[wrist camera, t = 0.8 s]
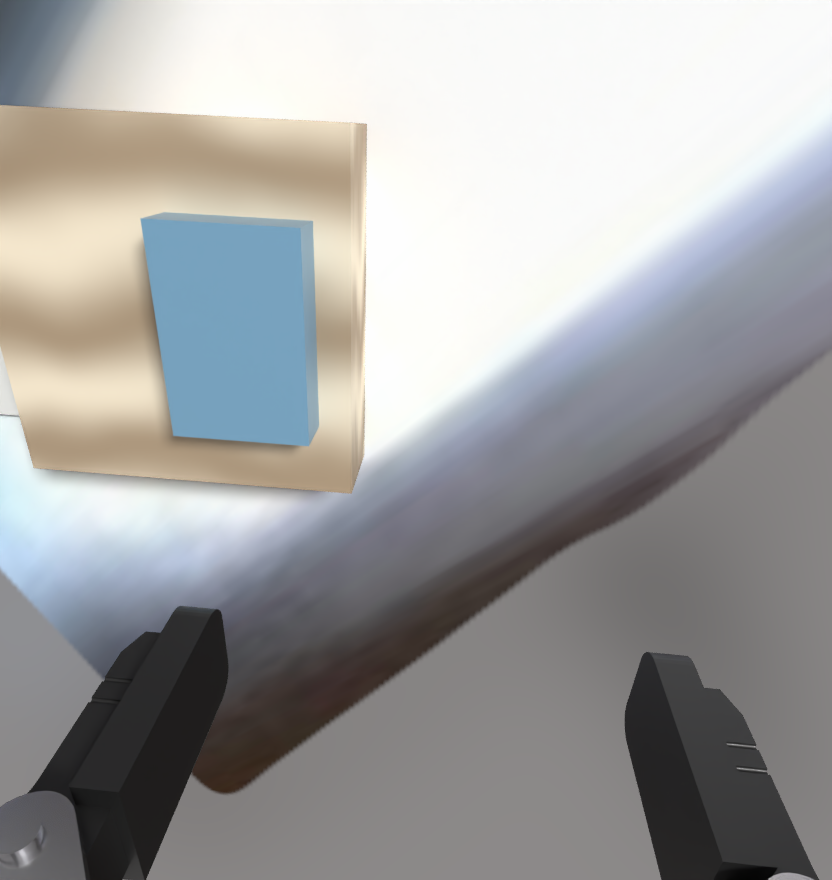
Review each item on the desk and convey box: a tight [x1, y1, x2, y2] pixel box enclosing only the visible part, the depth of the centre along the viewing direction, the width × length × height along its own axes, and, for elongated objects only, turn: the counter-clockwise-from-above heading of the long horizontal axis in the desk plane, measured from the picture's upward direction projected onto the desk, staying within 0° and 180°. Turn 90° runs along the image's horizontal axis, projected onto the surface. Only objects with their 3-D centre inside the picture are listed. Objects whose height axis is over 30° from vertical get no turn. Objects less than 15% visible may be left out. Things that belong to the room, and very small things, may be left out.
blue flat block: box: [140, 212, 319, 446], centre depth 25 cm, size 9×6×2 cm, turn 177°
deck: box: [0, 105, 367, 493], centre depth 28 cm, size 16×16×4 cm
